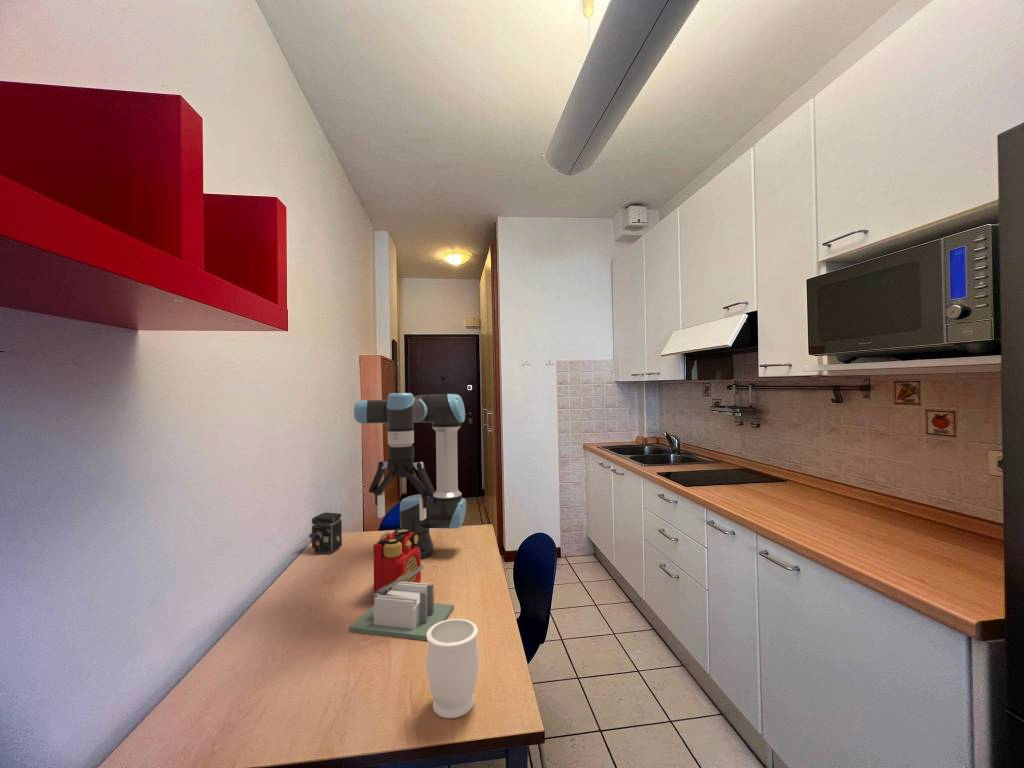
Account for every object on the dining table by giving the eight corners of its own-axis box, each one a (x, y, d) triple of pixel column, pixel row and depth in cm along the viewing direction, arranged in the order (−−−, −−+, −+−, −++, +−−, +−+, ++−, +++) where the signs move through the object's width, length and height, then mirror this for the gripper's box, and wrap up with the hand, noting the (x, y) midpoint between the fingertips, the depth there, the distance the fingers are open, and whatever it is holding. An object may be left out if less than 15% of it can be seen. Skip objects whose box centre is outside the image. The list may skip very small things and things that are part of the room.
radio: (402, 604, 131) (401, 539, 132) (372, 602, 134) (371, 537, 134) (422, 582, 147) (422, 523, 148) (395, 580, 149) (395, 522, 150)
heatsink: (348, 631, 117) (348, 596, 117) (381, 602, 133) (381, 571, 134) (430, 641, 111) (430, 604, 112) (454, 609, 128) (453, 577, 128)
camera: (320, 546, 185) (320, 511, 185) (343, 547, 184) (343, 511, 184) (305, 555, 175) (305, 518, 175) (330, 556, 173) (329, 518, 174)
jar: (434, 730, 82) (433, 650, 82) (422, 696, 91) (421, 624, 91) (486, 713, 86) (485, 637, 86) (470, 682, 95) (469, 613, 96)
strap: (377, 598, 123) (374, 591, 123) (383, 593, 126) (380, 586, 126) (420, 574, 120) (416, 567, 120) (425, 570, 123) (422, 563, 123)
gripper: (356, 446, 126) (356, 519, 125) (434, 447, 119) (435, 524, 119) (371, 443, 133) (371, 512, 132) (445, 444, 126) (446, 516, 126)
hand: (401, 518), depth 125 cm, fingers open, 13 cm apart
